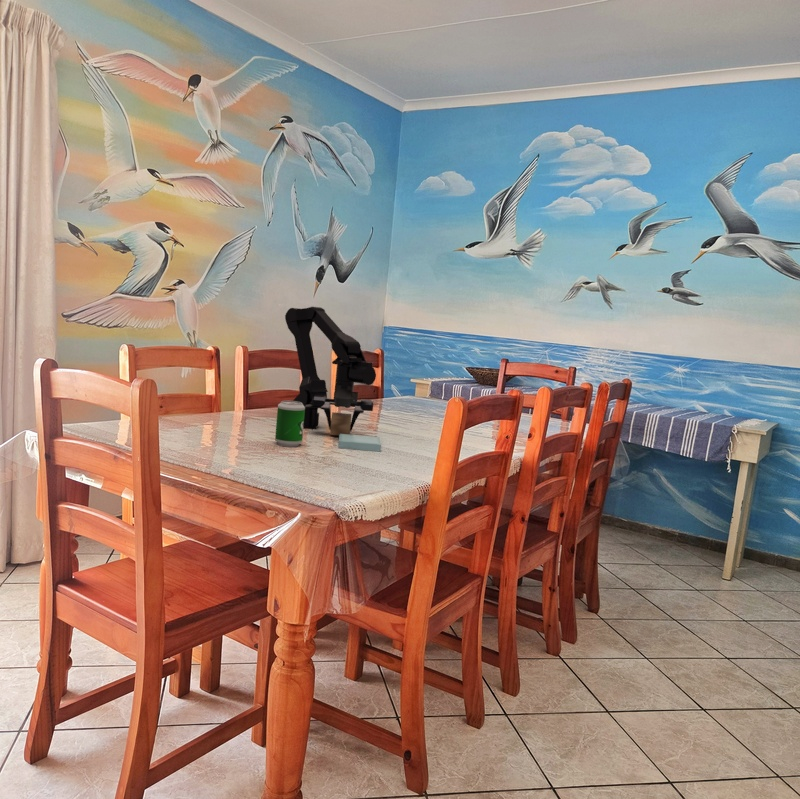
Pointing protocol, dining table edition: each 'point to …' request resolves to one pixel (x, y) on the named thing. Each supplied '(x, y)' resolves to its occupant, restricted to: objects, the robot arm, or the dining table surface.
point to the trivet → (359, 442)
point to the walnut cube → (340, 423)
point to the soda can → (290, 423)
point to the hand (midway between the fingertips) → (340, 430)
